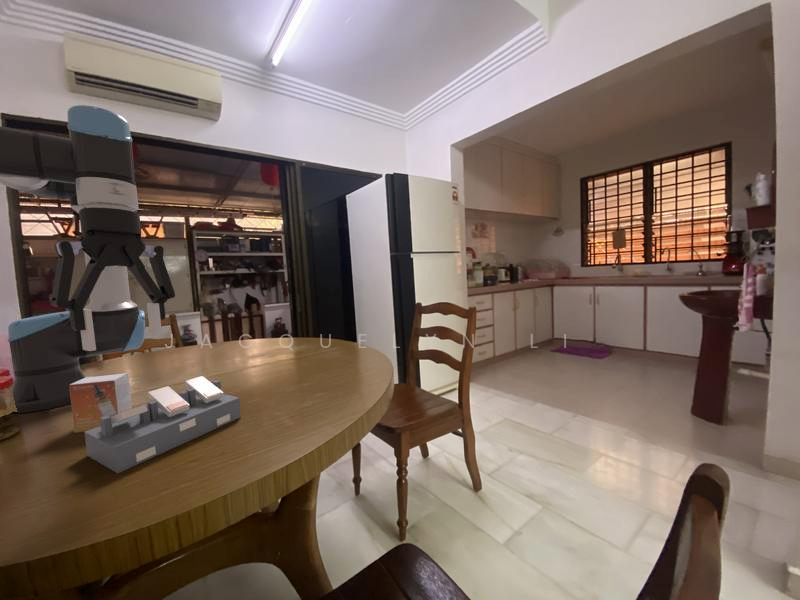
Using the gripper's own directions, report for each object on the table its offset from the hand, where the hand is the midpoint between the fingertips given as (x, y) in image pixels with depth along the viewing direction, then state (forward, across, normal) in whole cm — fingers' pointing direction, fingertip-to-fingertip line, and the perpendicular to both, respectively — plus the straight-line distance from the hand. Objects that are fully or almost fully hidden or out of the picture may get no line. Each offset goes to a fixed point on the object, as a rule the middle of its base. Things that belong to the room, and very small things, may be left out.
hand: (125, 343), depth 55 cm
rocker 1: (+13, 0, +3) cm, 14 cm away
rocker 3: (+13, +14, +3) cm, 20 cm away
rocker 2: (+13, +7, +3) cm, 15 cm away
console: (+20, +7, +3) cm, 22 cm away
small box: (+21, +3, +22) cm, 30 cm away
